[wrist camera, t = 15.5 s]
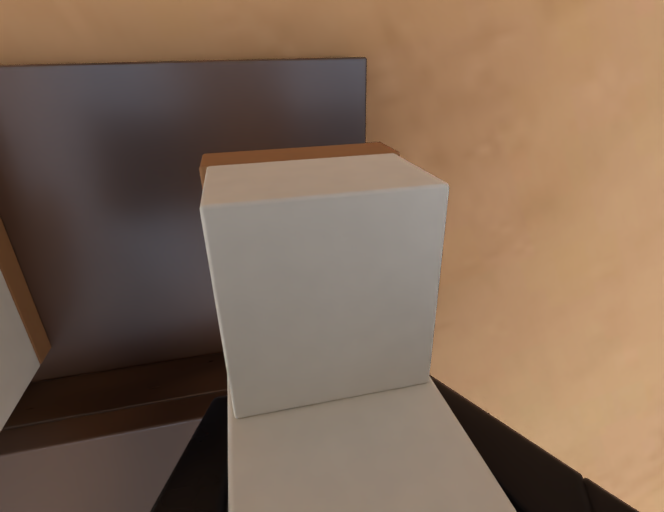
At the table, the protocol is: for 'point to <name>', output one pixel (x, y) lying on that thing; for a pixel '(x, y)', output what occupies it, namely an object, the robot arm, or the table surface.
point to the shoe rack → (133, 254)
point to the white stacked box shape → (17, 331)
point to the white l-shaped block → (334, 333)
